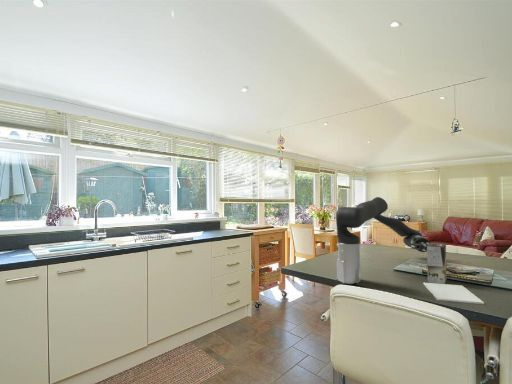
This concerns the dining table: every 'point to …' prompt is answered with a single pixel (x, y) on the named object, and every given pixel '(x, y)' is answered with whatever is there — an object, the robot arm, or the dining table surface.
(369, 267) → the dining table surface
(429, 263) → the coffee box
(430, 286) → the white flat rectangular board
